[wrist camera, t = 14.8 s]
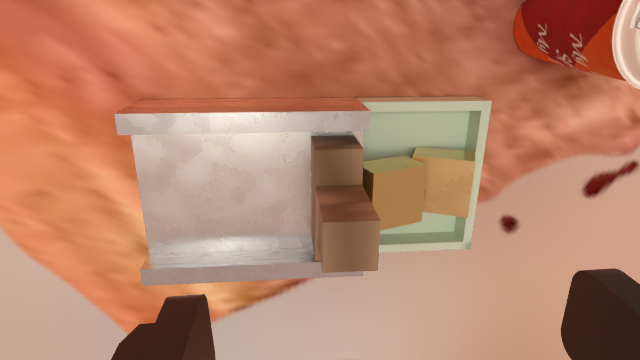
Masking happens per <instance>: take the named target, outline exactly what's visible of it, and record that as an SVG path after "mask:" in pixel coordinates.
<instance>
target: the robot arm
mask: <svg viewBox="0 0 640 360" xmlns="http://www.w3.org/2000/svg"><path fill="white" fill-rule="evenodd" d="M561 337H562V342H563V345H564V348H565V350H566V352H567V353H568V355H569V357H570V358H571V359H572V360H640V284H638V283H637V282H636V281H634V280H633V279H632V278H630V277H629V276H628V275H626V274H625V273H624V272H622V271H621V270H618V269H598V270H584V271H578V272H577V273H575V275H574V276H573V278H572V282H571V287H570V290H569V295H568V299H567V304H566V308H565V312H564V317H563V321H562V326H561ZM111 360H215V350H214V343H213V336H212V329H211V322H210V316H209V309H208V302H207V298H206V296H205V295H204V294H202V295H187V296H172V297H167V298H166V299H165V301H164V304H163V306H162V308H161V310H160V313H159V315H158V317H157V320H156V322H155V323H149V324H139V325H138V326H137V327H136V328H135V329H134V330H133V331H132V332H131V333H130V334H129V335H128V336H127V337H126V338H125V339H124V340H123V341H122V342H121V343H119V345H118V347H117V349H116V351H115V353H114V355H113V357H112V359H111Z"/></svg>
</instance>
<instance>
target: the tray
mask: <svg viewBox="0 0 640 360" xmlns="http://www.w3.org/2000/svg"><path fill="white" fill-rule="evenodd" d="M357 98H358V99H359V100H360V101H361V102H362V103H363V104H364V105H365V106H366V107H367V108H368V109H369V110H370V111H371V112H370V131H363V142H362V147H363V149H364V155H363V161H369V160H376V159H383V158H390V157H397V156H404V155H405V156H408V157H410V158H412V159H413V154H414V151H415V149H416V147H428V148H439V149H451V150H462V151H474V152H475V159H476V164H475V171H474V178H473V185H472V192H471V199H470V206H469V213H468V218H466V217H458V216H450V215H443V214H435V213H427V212H422V221H421V222H417V223H413V224H408V225H404V226H399V227H395V228H390V229H386V230H381V231H380V240H379V253H383V252H407V251H433V250H456V249H470V246H471V239H472V233H473V226H474V219H475V212H476V206H477V199H478V192H479V185H480V179H481V172H482V165H483V158H484V152H485V145H486V138H487V131H488V125H489V118H490V111H491V104H492V101H491V100H488V99H485V98H483V97H480V96H449V97H357Z"/></svg>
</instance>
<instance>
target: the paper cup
mask: <svg viewBox="0 0 640 360" xmlns="http://www.w3.org/2000/svg"><path fill="white" fill-rule="evenodd" d="M514 37H515V41H516V43H517V45H518V47H519V48H520V49H521V50H522V51H523V52H524V53H525V54H527V55H529V56H531V57H534V58H536V59H540V60H543V61H547V62H551V63H555V64H559V65H563V66H567V67H571V68H575V69H579V70H583V71H587V72H591V73H595V74H599V75H603V76H608V77H612V78H616V79H620V80H624V81H627V82H628V83H629V84H631V85H632V86H634V87H635V88H637V89H640V0H526V1H525V2H524V3H523V4H522V6H521V7H520V9H519V11H518V13H517V15H516V18H515V22H514Z"/></svg>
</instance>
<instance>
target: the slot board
mask: <svg viewBox="0 0 640 360" xmlns="http://www.w3.org/2000/svg"><path fill="white" fill-rule="evenodd" d="M370 112H371V111H370V110H369V109H368V108H367V107H366V106H365V105H364V104H363V103H362V102H361V101H360V100H359V99H358V98H357V97H342V98H235V99H141V100H139V101H137V102H135V103H133V104H132V105H130V106H128V107H126V108H124V109H122V110H121V111H119V112H117V113H115V114H114V115H115V121H116V127H117V134H118V135H131V139H132V146H133V152H134V159H135V165H136V172H137V178H138V185H139V191H140V197H141V204H142V210H143V217H144V223H145V230H146V236H147V242H148V249H149V255H148V257H147V259H146V260H145V262H144V264H143V266H142V268H141V269H140V272H141V278H142V284H143V286H150V285H171V284H193V283H214V282H235V281H257V280H278V279H299V278H321V277H341V276H362V275H363V271H355V272H334V273H323V272H322V266H321V261H315V257H314V250H313V244H312V237H311V136H335V135H355V137H356V138H357V140H358V141H359V143H360V144H361V146H362V142H363V131H370Z"/></svg>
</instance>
